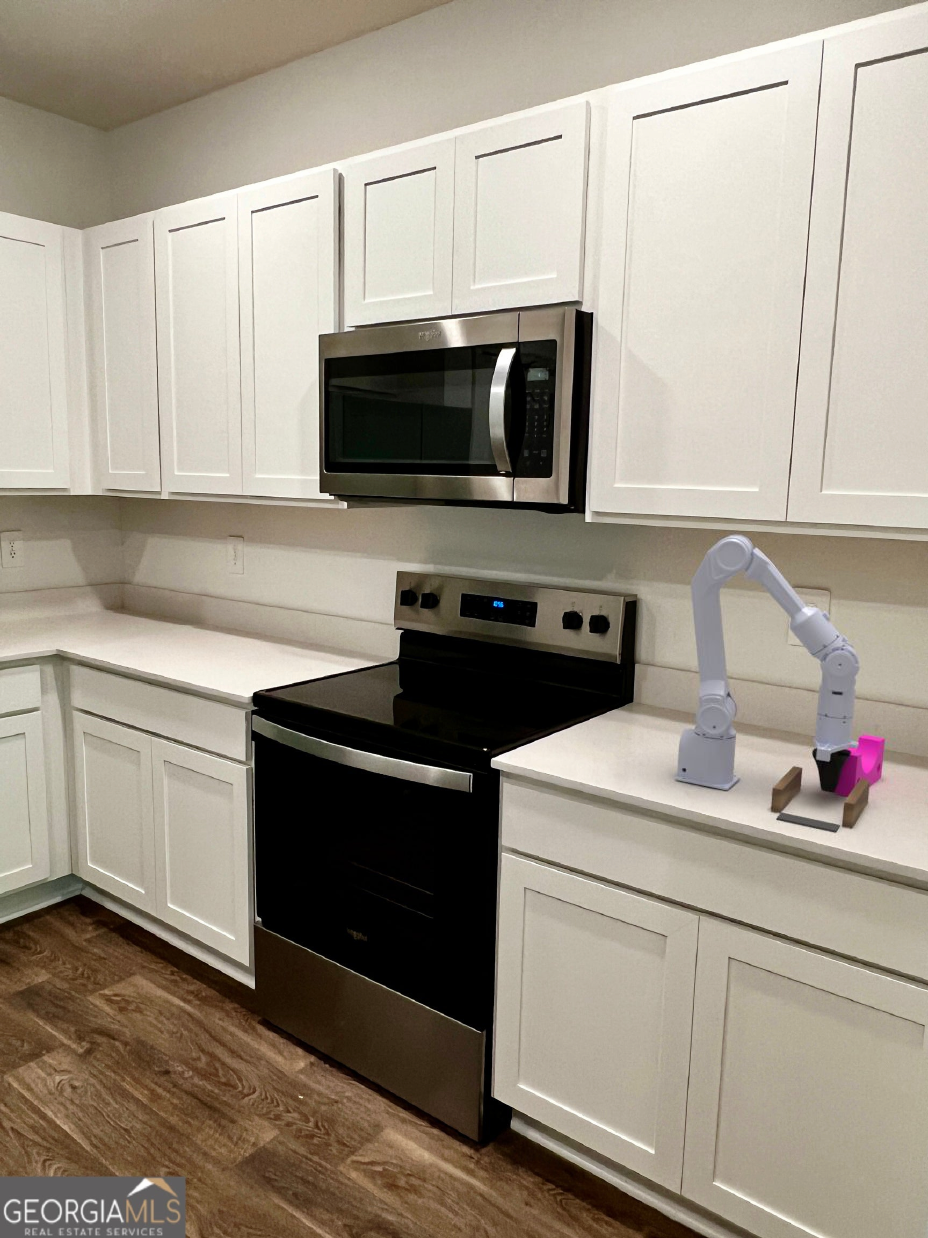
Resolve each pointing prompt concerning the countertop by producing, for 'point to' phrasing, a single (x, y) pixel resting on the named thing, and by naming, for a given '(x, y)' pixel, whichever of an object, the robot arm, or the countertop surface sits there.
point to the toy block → (862, 764)
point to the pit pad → (808, 822)
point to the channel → (792, 785)
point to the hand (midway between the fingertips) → (828, 791)
